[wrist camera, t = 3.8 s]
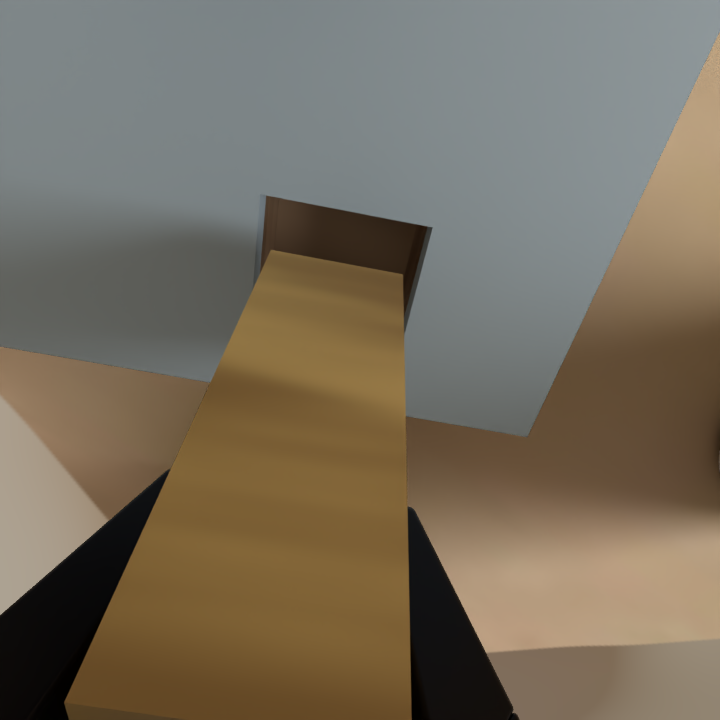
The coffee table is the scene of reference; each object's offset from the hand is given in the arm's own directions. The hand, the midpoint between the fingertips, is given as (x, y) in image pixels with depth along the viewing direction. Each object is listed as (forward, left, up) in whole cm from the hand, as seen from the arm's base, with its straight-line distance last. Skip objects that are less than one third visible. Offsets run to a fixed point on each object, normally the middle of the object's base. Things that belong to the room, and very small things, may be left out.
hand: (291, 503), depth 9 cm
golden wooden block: (0, 0, -6) cm, 6 cm away
